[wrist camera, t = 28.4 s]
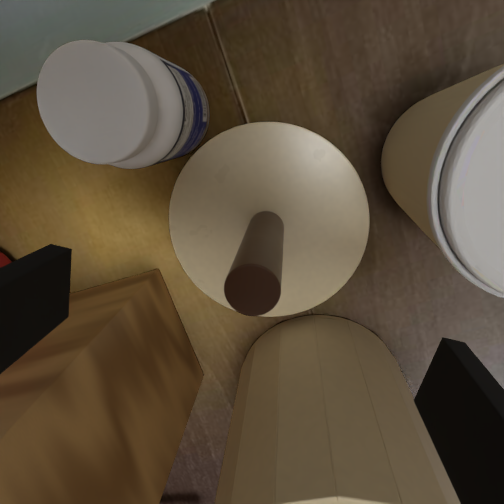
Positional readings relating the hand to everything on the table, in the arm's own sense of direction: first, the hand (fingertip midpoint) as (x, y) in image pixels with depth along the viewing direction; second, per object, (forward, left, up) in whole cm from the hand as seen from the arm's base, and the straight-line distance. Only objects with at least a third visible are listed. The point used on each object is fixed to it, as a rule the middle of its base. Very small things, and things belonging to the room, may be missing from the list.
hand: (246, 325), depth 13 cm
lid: (0, 0, -13) cm, 13 cm away
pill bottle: (-9, -4, -14) cm, 17 cm away
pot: (+14, 0, -14) cm, 19 cm away
